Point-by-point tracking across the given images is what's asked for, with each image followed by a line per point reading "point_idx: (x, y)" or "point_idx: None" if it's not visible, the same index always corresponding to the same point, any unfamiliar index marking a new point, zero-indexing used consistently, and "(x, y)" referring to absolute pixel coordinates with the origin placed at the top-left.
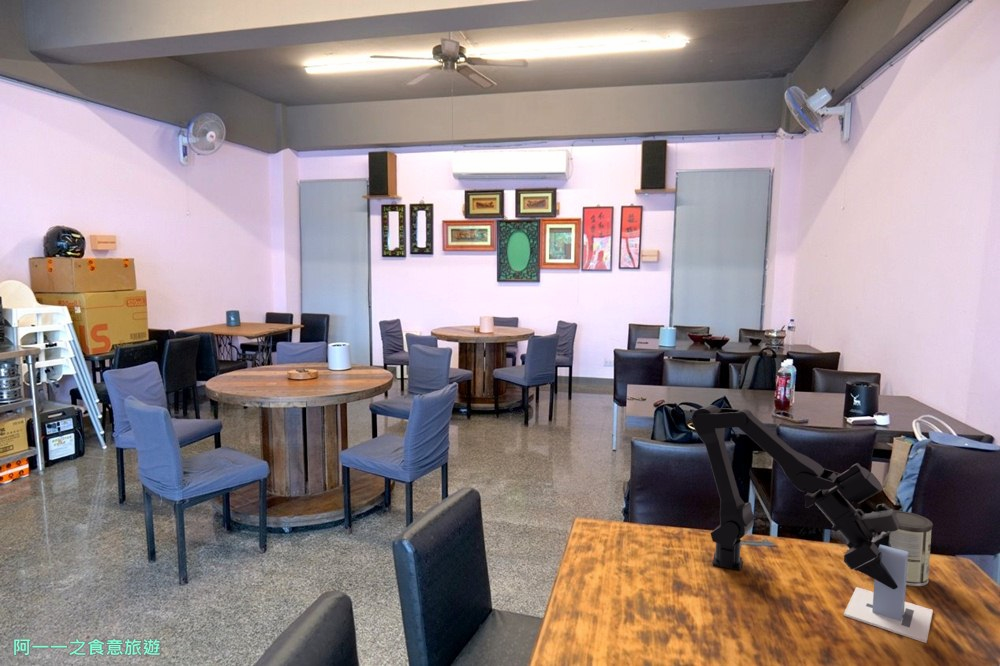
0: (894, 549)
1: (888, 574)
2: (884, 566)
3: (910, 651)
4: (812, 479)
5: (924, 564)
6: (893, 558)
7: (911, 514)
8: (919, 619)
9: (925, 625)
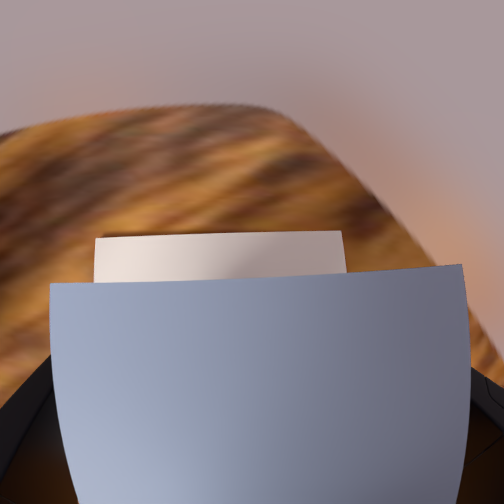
0: (134, 494)
1: (473, 370)
2: (489, 413)
3: (409, 262)
4: None
5: None
6: (457, 403)
7: None
8: (204, 266)
9: (237, 244)
